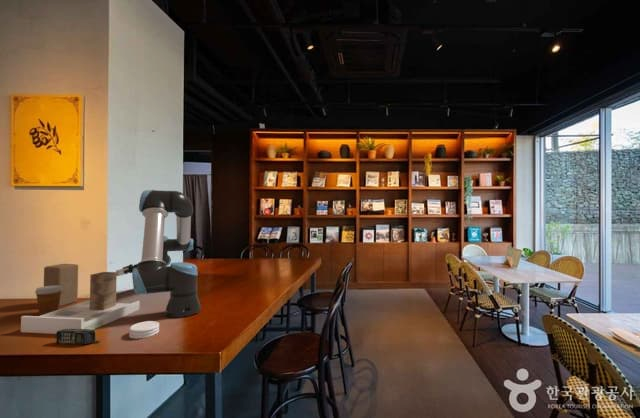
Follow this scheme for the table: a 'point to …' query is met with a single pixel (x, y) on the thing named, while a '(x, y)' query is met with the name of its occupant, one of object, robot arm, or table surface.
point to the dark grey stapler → (76, 336)
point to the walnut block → (103, 290)
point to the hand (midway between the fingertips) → (117, 273)
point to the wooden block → (63, 281)
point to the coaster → (144, 329)
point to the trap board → (76, 318)
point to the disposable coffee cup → (48, 298)
